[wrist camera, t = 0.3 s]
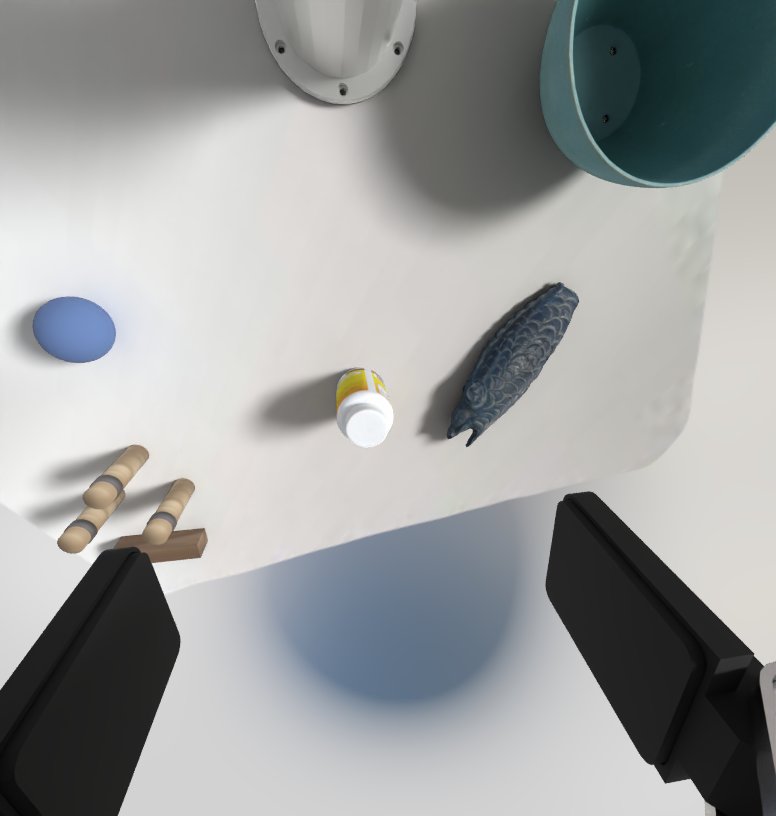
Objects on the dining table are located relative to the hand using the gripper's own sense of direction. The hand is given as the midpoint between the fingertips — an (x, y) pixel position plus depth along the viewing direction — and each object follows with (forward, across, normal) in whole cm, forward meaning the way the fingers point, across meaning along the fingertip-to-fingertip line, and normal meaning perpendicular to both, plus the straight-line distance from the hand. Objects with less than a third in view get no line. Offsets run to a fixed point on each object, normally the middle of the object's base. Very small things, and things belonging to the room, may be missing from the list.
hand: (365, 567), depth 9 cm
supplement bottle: (+36, -1, +9) cm, 37 cm away
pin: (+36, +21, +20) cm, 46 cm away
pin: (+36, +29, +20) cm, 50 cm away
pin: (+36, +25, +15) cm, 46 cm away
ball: (+33, +25, 0) cm, 41 cm away
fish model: (+36, -18, +8) cm, 41 cm away
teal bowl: (+36, -25, -18) cm, 47 cm away
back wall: (+36, +25, +27) cm, 52 cm away
